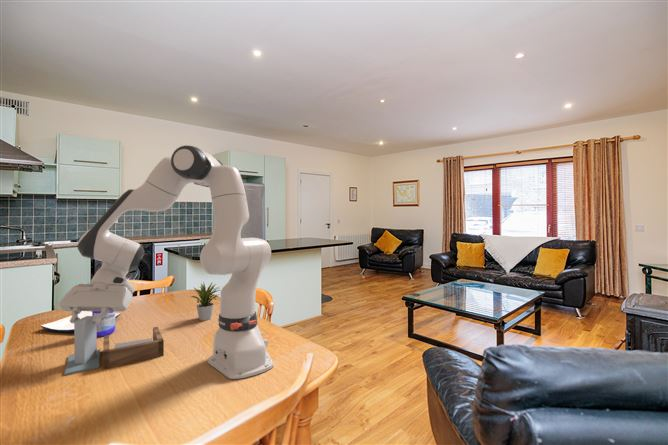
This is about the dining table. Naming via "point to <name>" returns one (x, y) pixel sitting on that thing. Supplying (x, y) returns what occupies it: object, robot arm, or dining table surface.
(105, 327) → the bottle
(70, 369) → the slate mat
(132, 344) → the offcut stack
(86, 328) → the grey rectangular block
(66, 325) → the plate
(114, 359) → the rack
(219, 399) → the dining table surface
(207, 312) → the house plant
